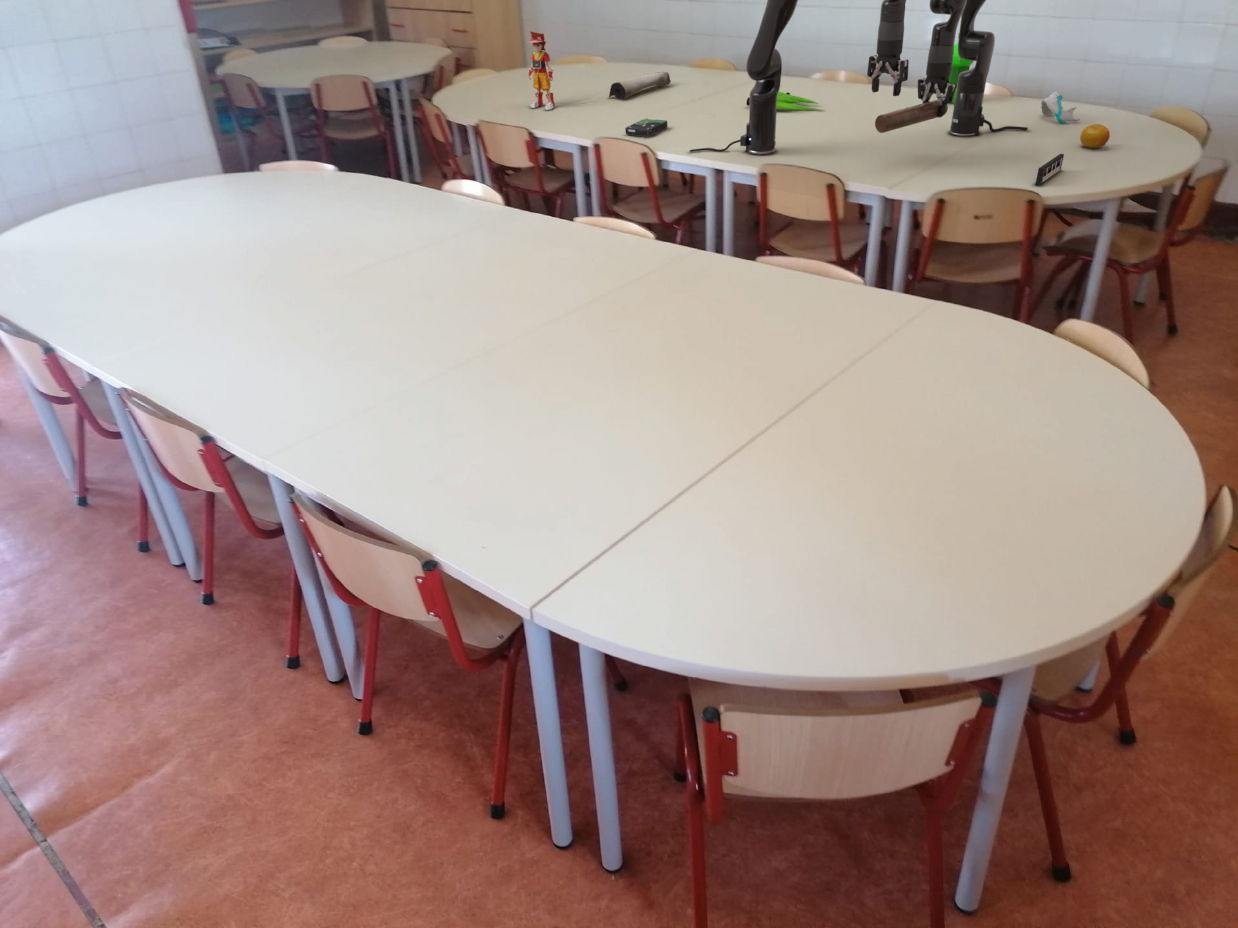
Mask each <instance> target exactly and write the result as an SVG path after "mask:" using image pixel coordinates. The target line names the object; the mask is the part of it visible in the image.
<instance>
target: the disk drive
mask: <svg viewBox="0 0 1238 928" xmlns="http://www.w3.org/2000/svg"><path fill="white" fill-rule="evenodd" d="M667 128H668V120H663V119H652V118H651V119H650V118H643V119H640V120H639V121H636V122H634V123H633V124H630V125H628V126H626V127H625V129H624V130H625V135H629V136H637V137H651V136H653V135H655V134H657V133H659V132H661V131H663V130H665V129H667Z"/></svg>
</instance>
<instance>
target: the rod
mask: <svg viewBox="0 0 1238 928" xmlns="http://www.w3.org/2000/svg"><path fill="white" fill-rule="evenodd" d="M942 100H943V99H942ZM929 101H930V100H929ZM938 105H939V101H938V99H935V100H931V101H930V102H927V103H923V102H922V103H920V104H916V105H912V106H909V107H905V108H901V109H898V110H894V111H890V112H887V113H883V114H880V115H878V116H876V118H875V121H874V127H875V129H876V131H877V132H878V133H880V134H884V133H888V132H891V131H895V130H899V129H902V128H905V127H909V126H912V125H916V124H919V123H923V122H926V121H929V120H934V119H937V118H938V117H937V112H938ZM948 105H949V104H946V106H945V113H944V115H943V116H942V117H944V116H945V115H946V114H947V112H948V110H949V106H948Z"/></svg>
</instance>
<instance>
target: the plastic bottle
mask: <svg viewBox="0 0 1238 928" xmlns="http://www.w3.org/2000/svg"><path fill="white" fill-rule="evenodd" d="M957 39H959V34H958V36H957ZM973 63H974V61H970V60H963V59H960V58H959V56H958V42H957V43H956V44H954V55H953V61H952V68H951V74H950V76H949V83H951V84H956V85H957V83H958V77H959V74H960V73H961V72H963V71H966V70H970V67H971V65H972V64H973ZM956 90H957V87H956ZM956 90H955V93H954V97H953V100H952V103H951V104H954V103H955V96H956ZM946 91H947V88H946Z"/></svg>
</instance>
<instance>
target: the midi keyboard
mask: <svg viewBox="0 0 1238 928" xmlns="http://www.w3.org/2000/svg"><path fill="white" fill-rule="evenodd" d="M1064 157H1065V153H1059V154H1058V155H1056V156H1055V157H1052V159H1051V160H1049V161H1047V162H1045V164H1042V165H1041V166H1039V167H1038V169H1037V175H1036V179H1035V186H1040V185H1042V183H1044V182H1045V181H1047V180H1048V179H1049V178H1051V177H1052V176H1054V175H1055V174H1056V173H1058V172H1060V171H1061V170H1062V165H1063V161H1064Z"/></svg>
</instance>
